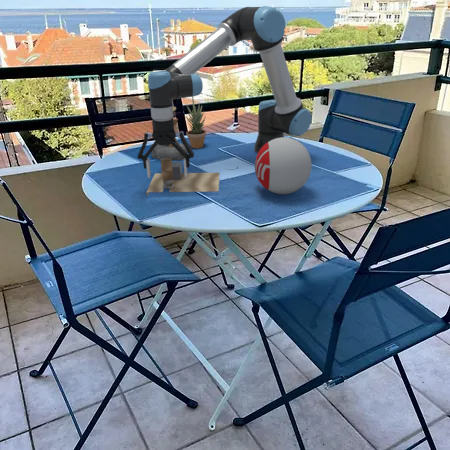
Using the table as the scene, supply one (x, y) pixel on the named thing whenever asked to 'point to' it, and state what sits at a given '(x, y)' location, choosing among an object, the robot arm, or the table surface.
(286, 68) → the robot arm
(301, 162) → the decorative sphere
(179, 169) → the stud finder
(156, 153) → the figurine
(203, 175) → the board
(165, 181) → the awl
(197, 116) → the potted plant
